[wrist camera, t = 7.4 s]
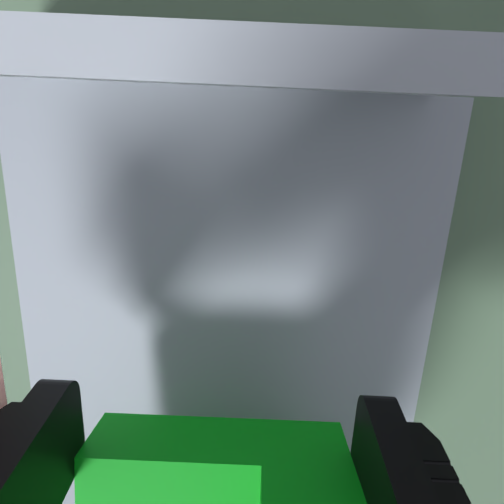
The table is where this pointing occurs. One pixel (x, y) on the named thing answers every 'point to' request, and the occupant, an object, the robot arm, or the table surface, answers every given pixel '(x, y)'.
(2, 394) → the table surface
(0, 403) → the table surface
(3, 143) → the pale green fixture
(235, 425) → the mechanical part
